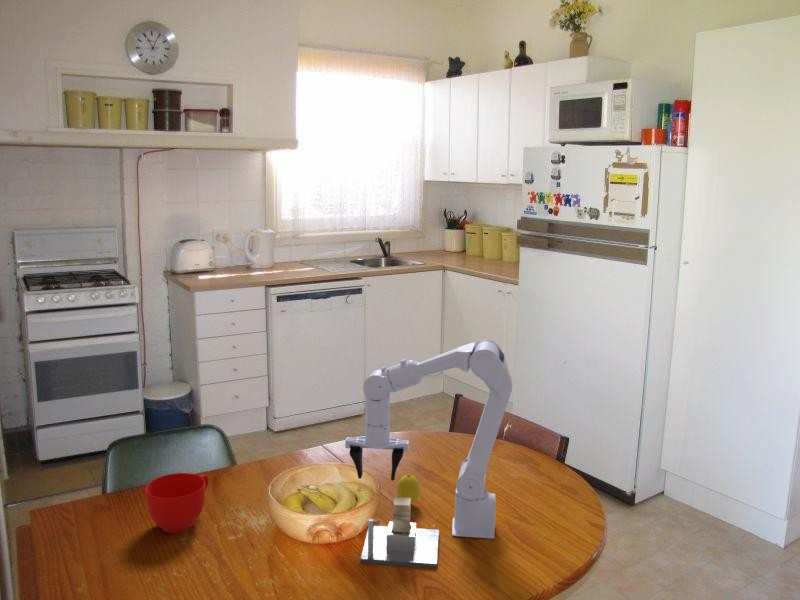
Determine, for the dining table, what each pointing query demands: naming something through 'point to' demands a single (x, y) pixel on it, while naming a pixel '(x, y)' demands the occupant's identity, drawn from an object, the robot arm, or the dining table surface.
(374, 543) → the stand
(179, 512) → the ceramic cup
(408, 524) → the block
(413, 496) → the lemon
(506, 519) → the dining table surface
